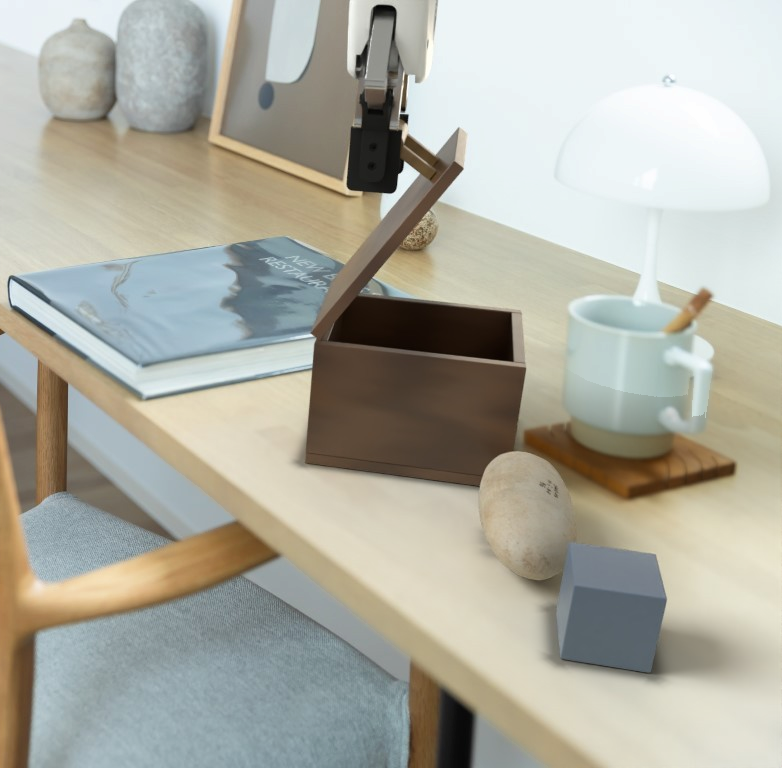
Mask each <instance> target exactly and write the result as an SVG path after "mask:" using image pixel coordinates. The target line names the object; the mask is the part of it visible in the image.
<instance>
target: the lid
mask: <svg viewBox="0 0 782 768" xmlns="http://www.w3.org/2000/svg"><path fill="white" fill-rule="evenodd" d="M398 130H403V131H402V141H401V152H400V158H401V159H402V160H404V163H406V164H407V165H408V166H410V167H411V168H412V169H414V170H415V171H416V172H418V176H417V177H416V178H415V179H414V180H413V182H412V183H411V184H410V185H409V187H408V188H407V189H406V190H405V191H404V193H403V194H402V195H401V196H400V198H399V199H398V200H397V201H396V202H395V204H394V205H393V206H392V207H391V208H390V210H389V211H388V212H387V213H386V215H385V216H384V217H383V218H382V219H381V220H380V222H379V223H378V224H377V226H376V227H374V229H373V230H372V231H371V232H370V234H369V235H368V236H367V237H366V239H365V240H364V241H363V242H362V243H361V245H360V246H359V247H358V248H357V250H356V251H355V252H354V253H353V254H352V256H351V257H350V258H349V259H348V260H347V262H346V263H345V264H344V265H343V266H342V268H341V269H340V271H339V272H338V273H337V274H336V275H335V276H334V278H333V279H332V280H331V282H330V285H329V287H328V289H327V291H326V294H325V297H324V299H323V301H322V304H321V306H320V308H319V311H318V313H317V315H316V318H315V320H314V323H313V325H312V327H311V330H310V334H311V335H312V336H313V337H314V338H315V339H316V338H317V339H318V340H320V339H321V338H322V337H323V336H324V335H325V333H326V332H327V331H328V330H329V329H330V327H331V326H332V325H333V324H334V323H335V321H336V320H337V319H338V318H339V317H340V316H341V314H342V313H343V312H344V311H345V310H346V308H347V307H348V306H349V305H350V304H351V302H352V301H353V300H354V299H355V298H356V297H357V295H358V294H359V293H362V291H363V289H365V287H367V285H368V284H369V282H371V280H372V279H373V278H374V277H375V275H376V274H377V273H378V272H379V271H380V269H381V268H382V267H383V266H384V265H385V264H386V262H387V261H388V260H389V259H390V258H391V256H392V255H393V254H394V253H395V251H397V249H398V248H399V247H400V246H401V245H402V243H403V242H404V241H405V240H406V239H407V237H408V236H409V235H410V234H411V232H413V230H414V229H415V228H416V226H418V224H419V223H420V222H421V221H422V220H423V218H424V217H425V216H426V215H427V214H428V212H430V210H431V209H432V208H433V207H434V205H436V203H437V202H438V200H439V199H440V198H441V197H442V196H443V195H444V194H445V192H446V191H447V190H448V189H449V187H451V185H452V184H453V183H454V181H456V180H457V178H458V177H459V176H460V174H462V172H463V171H464V170H465V161H466V152H467V143H468V133H467V132H466V131H465V130H464V129H462V128H461V127H460V126H458V127H457V128H456V129H455V131H454V132H453V133H452V134H451V135H450V136H449V138H448V139H447V140H446V142H445V143H444V144H443V145H442V147H441V148H440V149H439V150H438V151H437V152H436V154H435V152H433V151H431V150H430V149H429V148H427V146H425V145H424V144H422V143H421V142H420V141H419V140H417V139H416V138H415V137H414V136H412V135H411V134H410V133H409V125H408V126H407V124H406V122H405V121H403V120H402V119H399V127H398Z"/></svg>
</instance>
